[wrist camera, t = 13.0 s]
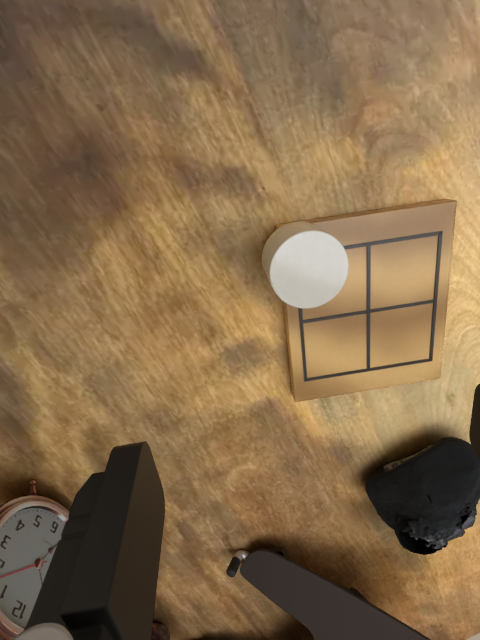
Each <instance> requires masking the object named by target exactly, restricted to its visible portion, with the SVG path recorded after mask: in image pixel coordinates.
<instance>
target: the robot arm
mask: <svg viewBox="0 0 480 640" xmlns="http://www.w3.org/2000/svg"><path fill="white" fill-rule="evenodd" d="M469 435H470V442H471V445H472V448H473V450H474V452H475V454H476V456H477V457H478V459H479V460H480V384H479V385H477V387H476V389H475V393H474V401H473V409H472V417H471V425H470V434H469ZM164 516H165V500H164V492H163V488H162V484H161V481H160V478H159V475H158V472H157V469H156V466H155V462H154V459H153V456H152V453H151V450H150V447H149V445H148V443H147V442H139V443H133V444H128V445H122V446H116V447H114V448H113V449H112V451H111V454H110V457H109V460H108V463H107V466H106V470H105V472H100V473H94V474H92V475H91V476H90V478H89V479H88V480H87V481H86V483H85V484H84V485H83V486H82V488H81V489H80V490H79V491H78V493H77V494H76V497H75V499H74V502H73V504H72V507H71V510H70V512H69V515H68V520H67V521H66V523H65V526H64V528H63V531H62V534H61V540H59V541H58V544H57V547H56V549H55V552H54V555H53V557H52V560H51V563H50V565H49V568H48V570H47V573H46V576H45V578H44V581H43V584H42V586H41V589H40V592H39V594H38V597H37V600H36V602H35V605H34V607H33V610H32V613H31V615H30V618H29V620H28V623H27V625H26V627H25V629H24V631H23V632H21V633H19V634H18V635H17V636H15V637H14V638H13V639H11V640H151V632H152V623H153V614H154V605H155V596H156V587H157V578H158V570H159V561H160V552H161V543H162V534H163V525H164Z"/></svg>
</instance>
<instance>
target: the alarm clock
mask: <svg viewBox="0 0 480 640" xmlns="http://www.w3.org/2000/svg"><path fill="white" fill-rule="evenodd" d="M29 484H30V486H31V488H30V494H29V496H24V497H20V498H17V499H14V500H12V501H10V500H8V501H6V502H5V504H3V505H1V506H0V640H11V639H13V638H14V637H15V636H17V635H18V634H19V633H21V632H23V631H24V629H25V627H26V625H27V623H28V620H29V618H30V615H31V613H32V610H33V607H34V605H35V602H36V600H37V597H38V594H39V592H40V589H41V586H42V584H43V581H44V578H45V576H46V573H47V570H48V568H49V565H50V563H51V560H52V557H53V555H54V552H55V549H56V547H57V544H58V541H59V540H61V534H62V531H63V528H64V526H65V523H66V521H67V520H68V515H69V511H68V510H67V509H66V508H65V507H64V506H62V505H61V504H59V503H58V502H56V501H54V500H52V499H49V498H46V497H42V496H37V493H36V488H35V484H36V481H35V480H31V481H30V482H29Z"/></svg>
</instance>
